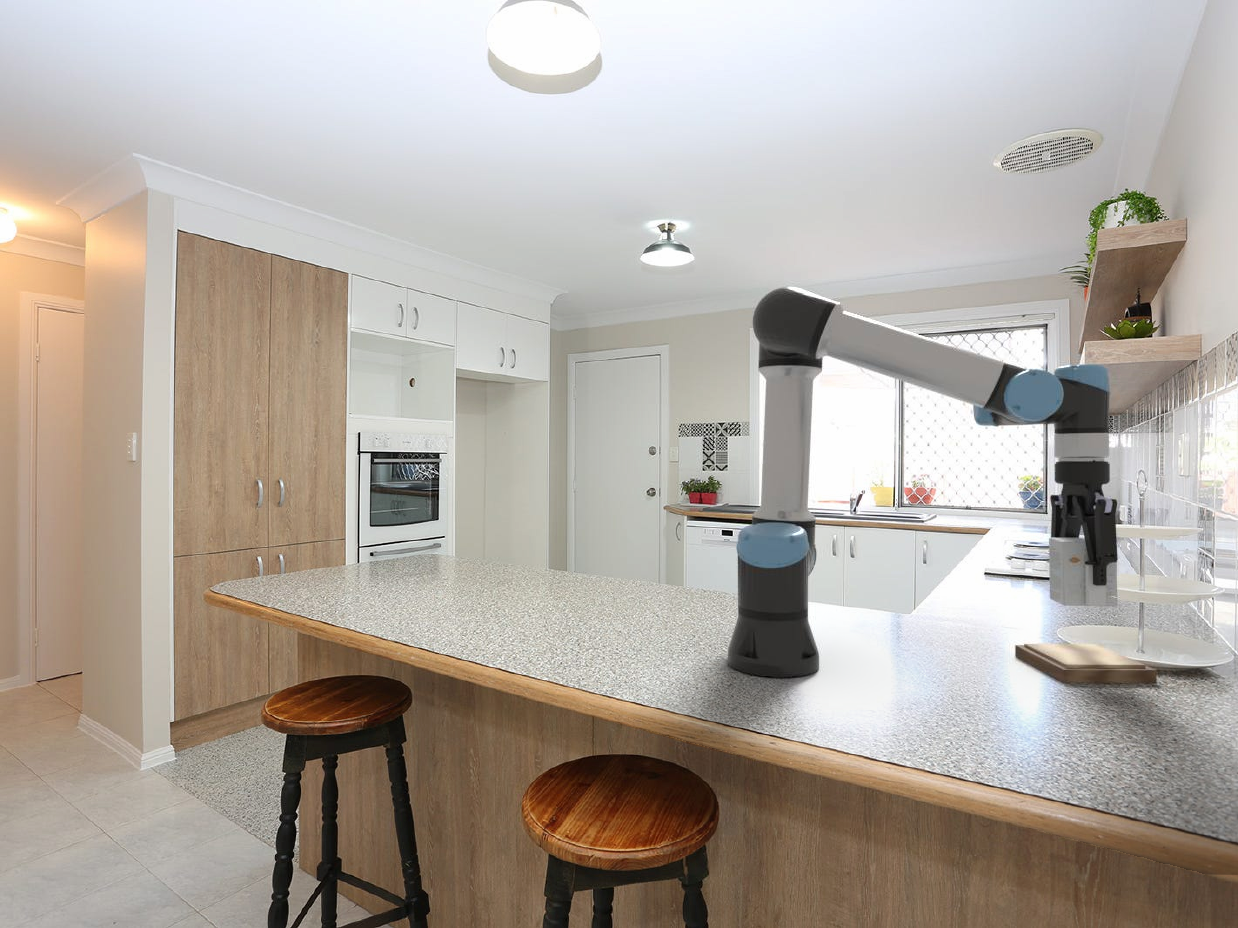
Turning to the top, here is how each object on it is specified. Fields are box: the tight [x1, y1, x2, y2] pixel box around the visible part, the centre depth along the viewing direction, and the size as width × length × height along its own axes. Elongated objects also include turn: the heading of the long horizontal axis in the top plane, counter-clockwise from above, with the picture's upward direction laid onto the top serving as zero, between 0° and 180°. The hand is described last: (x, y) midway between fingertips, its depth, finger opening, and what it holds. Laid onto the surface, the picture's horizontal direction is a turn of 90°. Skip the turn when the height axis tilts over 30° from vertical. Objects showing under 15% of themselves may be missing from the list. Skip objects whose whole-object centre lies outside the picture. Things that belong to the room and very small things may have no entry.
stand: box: [1014, 643, 1158, 684], centre depth 114 cm, size 14×14×2 cm
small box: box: [1048, 537, 1118, 608], centre depth 114 cm, size 8×6×10 cm
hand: (1082, 600), depth 114 cm, fingers closed on small box, 6 cm apart
